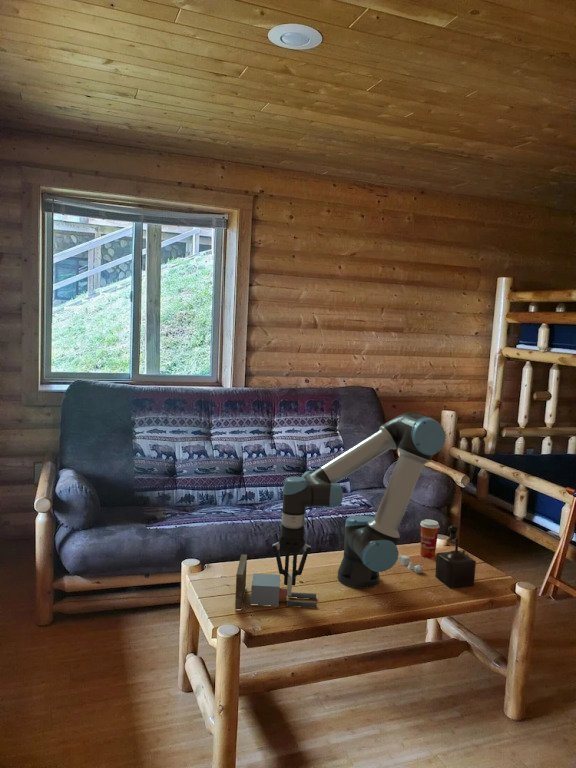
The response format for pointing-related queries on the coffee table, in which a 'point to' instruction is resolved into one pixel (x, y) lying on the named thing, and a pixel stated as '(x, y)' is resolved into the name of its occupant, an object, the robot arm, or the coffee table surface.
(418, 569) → the game pieces
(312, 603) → the rails
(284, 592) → the dowel
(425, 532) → the paper cup
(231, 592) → the coffee table surface
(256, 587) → the block
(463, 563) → the black joystick
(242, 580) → the wall
